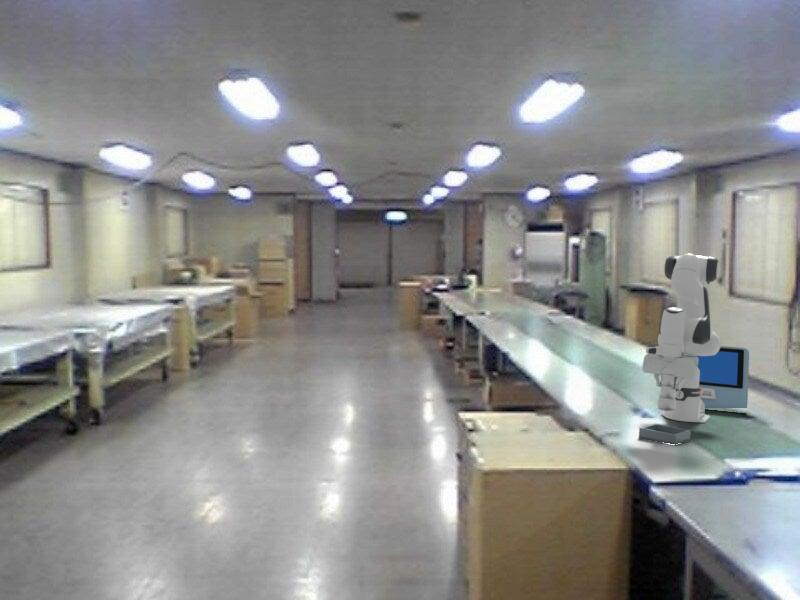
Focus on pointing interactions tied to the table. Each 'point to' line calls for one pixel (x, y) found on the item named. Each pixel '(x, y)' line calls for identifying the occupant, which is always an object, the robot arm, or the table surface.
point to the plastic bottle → (667, 389)
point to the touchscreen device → (724, 378)
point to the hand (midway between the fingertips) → (668, 387)
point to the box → (664, 434)
